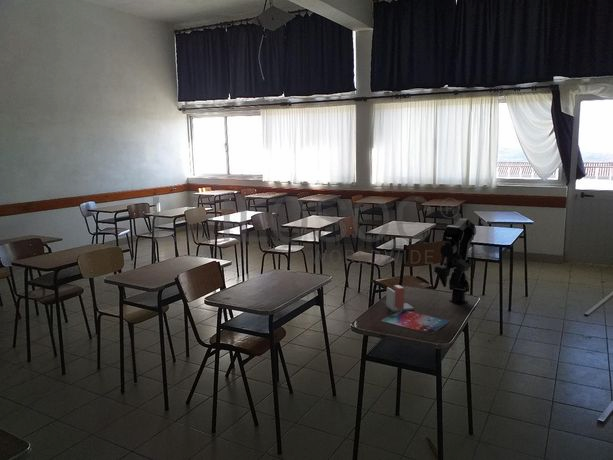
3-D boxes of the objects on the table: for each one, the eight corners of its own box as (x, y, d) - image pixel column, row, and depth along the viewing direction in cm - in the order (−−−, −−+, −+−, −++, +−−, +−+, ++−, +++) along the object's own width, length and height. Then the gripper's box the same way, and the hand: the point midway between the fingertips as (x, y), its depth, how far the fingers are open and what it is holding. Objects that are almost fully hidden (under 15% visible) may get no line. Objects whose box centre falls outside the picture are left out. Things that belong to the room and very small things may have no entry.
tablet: (400, 310, 228) (400, 308, 228) (450, 322, 213) (450, 320, 213) (379, 322, 214) (379, 320, 214) (432, 336, 198) (432, 334, 198)
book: (398, 304, 232) (399, 284, 230) (403, 308, 227) (404, 287, 225) (393, 305, 231) (393, 285, 229) (397, 308, 226) (398, 288, 224)
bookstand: (406, 304, 234) (407, 285, 233) (413, 309, 228) (414, 289, 226) (386, 307, 231) (386, 287, 229) (392, 312, 225) (393, 291, 223)
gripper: (454, 259, 208) (452, 293, 211) (480, 253, 219) (477, 285, 222) (434, 254, 217) (432, 287, 220) (459, 248, 228) (457, 280, 230)
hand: (450, 285), depth 223 cm, fingers open, 9 cm apart
